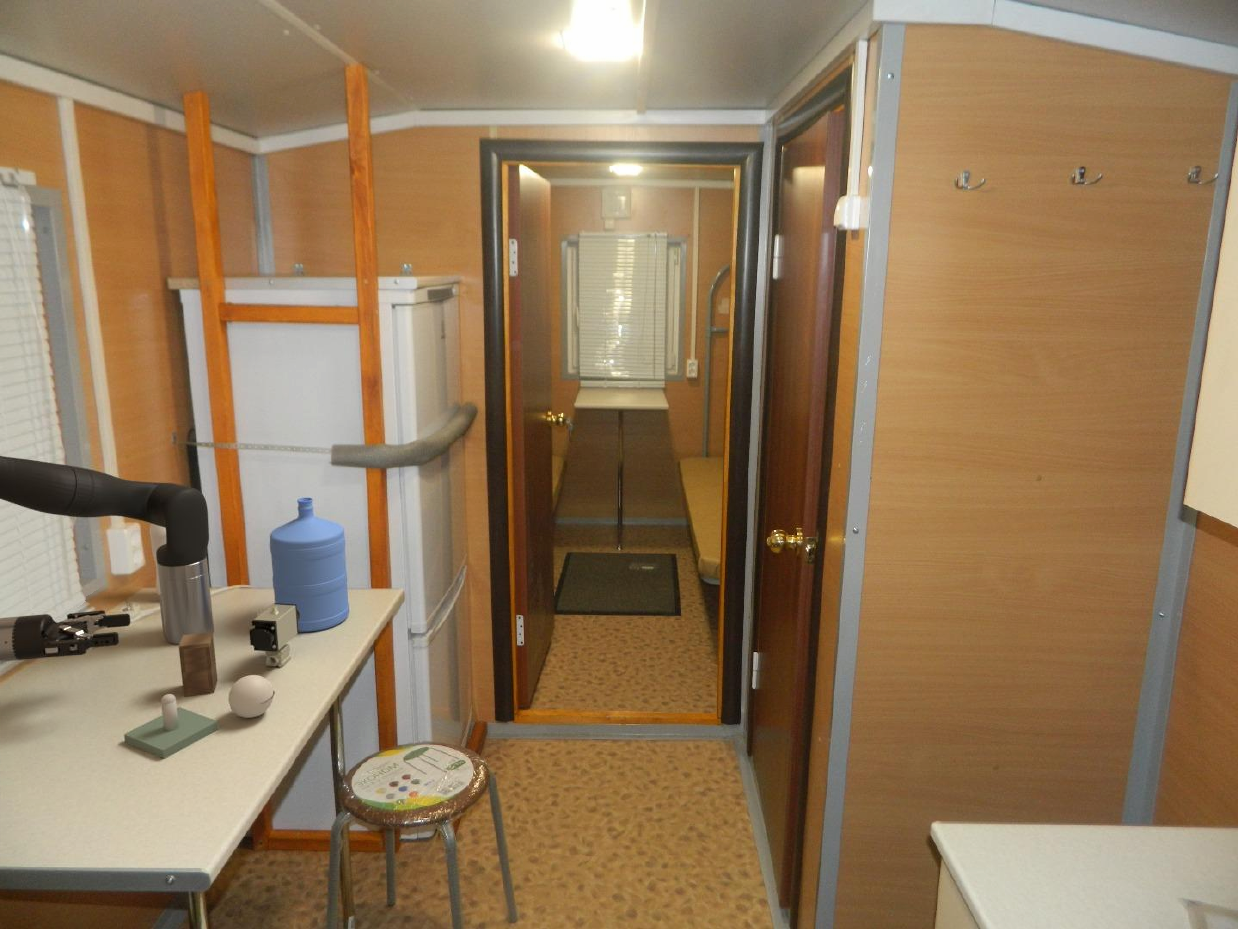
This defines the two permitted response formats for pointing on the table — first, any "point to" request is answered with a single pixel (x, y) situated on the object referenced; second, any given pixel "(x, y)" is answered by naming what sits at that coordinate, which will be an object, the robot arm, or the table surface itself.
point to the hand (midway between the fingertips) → (124, 628)
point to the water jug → (311, 568)
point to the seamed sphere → (251, 696)
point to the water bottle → (157, 546)
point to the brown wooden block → (198, 664)
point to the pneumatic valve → (275, 632)
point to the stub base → (170, 730)
